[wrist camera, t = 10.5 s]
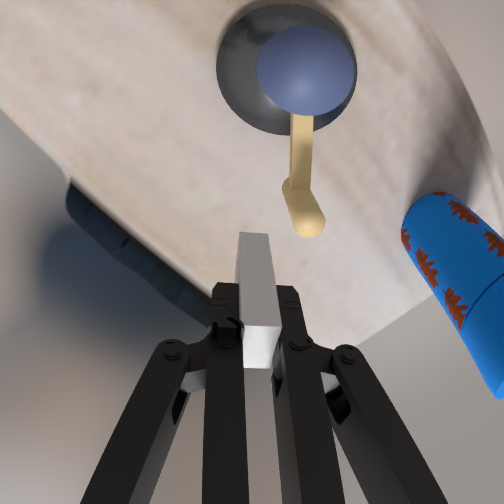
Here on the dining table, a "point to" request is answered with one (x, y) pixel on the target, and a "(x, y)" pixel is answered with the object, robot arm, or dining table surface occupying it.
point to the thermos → (462, 275)
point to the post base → (244, 59)
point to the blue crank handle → (304, 104)
